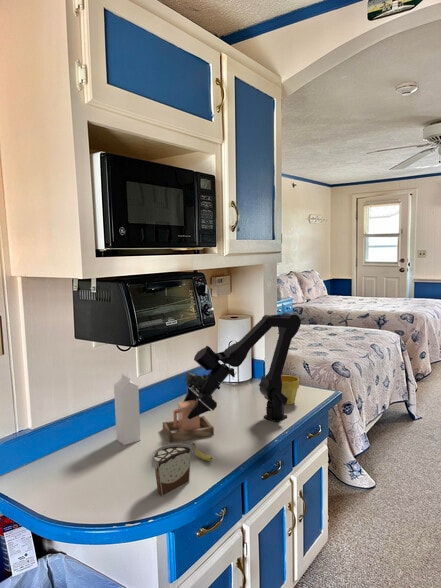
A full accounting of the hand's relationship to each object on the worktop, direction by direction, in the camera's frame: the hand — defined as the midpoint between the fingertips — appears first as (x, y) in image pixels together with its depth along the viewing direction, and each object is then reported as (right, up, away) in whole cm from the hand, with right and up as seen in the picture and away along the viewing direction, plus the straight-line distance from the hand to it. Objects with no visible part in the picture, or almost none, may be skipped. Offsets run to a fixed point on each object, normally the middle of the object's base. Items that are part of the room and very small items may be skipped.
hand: (184, 413), depth 150 cm
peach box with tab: (0, -7, +1) cm, 7 cm away
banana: (+7, -9, -19) cm, 22 cm away
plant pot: (+39, -3, +28) cm, 48 cm away
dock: (+1, -7, +1) cm, 7 cm away
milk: (-18, -8, -4) cm, 20 cm away
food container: (-2, -11, -33) cm, 34 cm away
